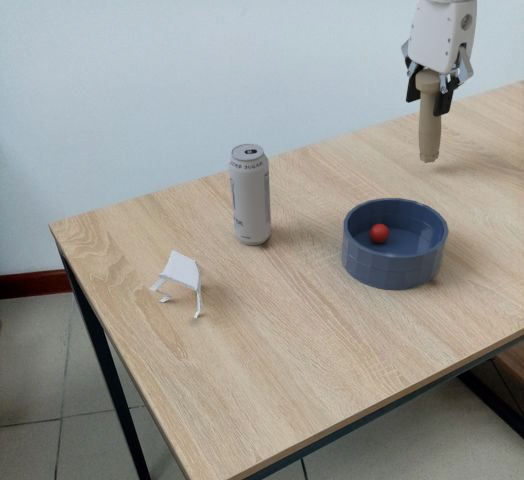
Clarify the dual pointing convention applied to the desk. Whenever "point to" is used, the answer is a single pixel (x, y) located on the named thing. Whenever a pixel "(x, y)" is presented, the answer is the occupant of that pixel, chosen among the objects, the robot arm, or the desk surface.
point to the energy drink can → (250, 193)
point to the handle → (428, 115)
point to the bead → (379, 233)
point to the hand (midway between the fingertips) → (427, 106)
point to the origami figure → (181, 276)
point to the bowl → (393, 243)
